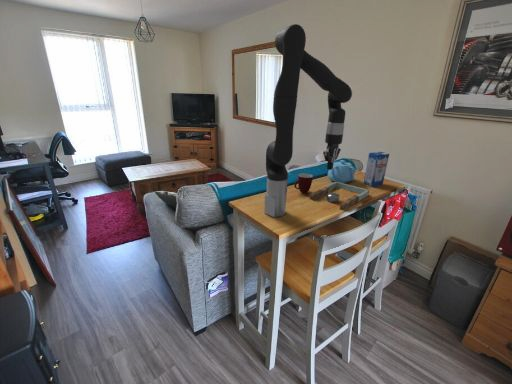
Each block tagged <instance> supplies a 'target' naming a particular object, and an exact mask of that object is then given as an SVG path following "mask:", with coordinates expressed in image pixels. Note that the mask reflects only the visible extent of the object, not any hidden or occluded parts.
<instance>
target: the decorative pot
mask: <svg viewBox="0 0 512 384" xmlns="http://www.w3.org/2000/svg"><path fill="white" fill-rule="evenodd" d="M355 173H356V168H355V167H354V166H353V165H352V163H351V162H346V160H343V159H341V160H339V161H334V164H333V169H331V170H328V172H327V178H328V179H329V180H330V181H331V182H340V183H344V184H347V183H349V182H351V181H354V180H355Z"/></svg>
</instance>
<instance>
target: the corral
mask: <svg viewBox="0 0 512 384" xmlns="http://www.w3.org/2000/svg"><path fill="white" fill-rule="evenodd" d="M325 187H328V188H329V191H331V190H333V189H335V188H338V189H342V190H346V191H349V192H353V193H356V194H358V195H357V196H358V200H357V202H361V201H362V200H364V199H366V197H368V196H369V194H370V190H369V189H366V188H363V187H359V186H354V185H350V184H347V183H340V182H335V181H333V182H331V183H329V184H327V185H325V186H324V188H325Z"/></svg>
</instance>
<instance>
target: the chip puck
mask: <svg viewBox="0 0 512 384" xmlns="http://www.w3.org/2000/svg"><path fill="white" fill-rule="evenodd" d="M326 195H327V197H326V201H327V202H328V203H331V204H337V203H339V201H340V194H339V193H336V192H328V193H327V194H326Z"/></svg>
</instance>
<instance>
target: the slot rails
mask: <svg viewBox="0 0 512 384" xmlns="http://www.w3.org/2000/svg"><path fill="white" fill-rule="evenodd" d="M329 191H330V190H329V188H328V187H325V186H324V187H323V188H321V189H318V190H316V191H314V192H312V193H310V197H309V200H312V201H315V200H317V199H319V198H320V197H323V196H325V195H328V193H330V192H329ZM357 200H358V195H356V194H354V195H353V196H350V197H349V198H348V199H346V200H344V201H342V202H340V205H339V210H342V211H344V210H346V209H348V208H350V207H351V206H352V205H354V204H356V203H357V202H358V201H357Z"/></svg>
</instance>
